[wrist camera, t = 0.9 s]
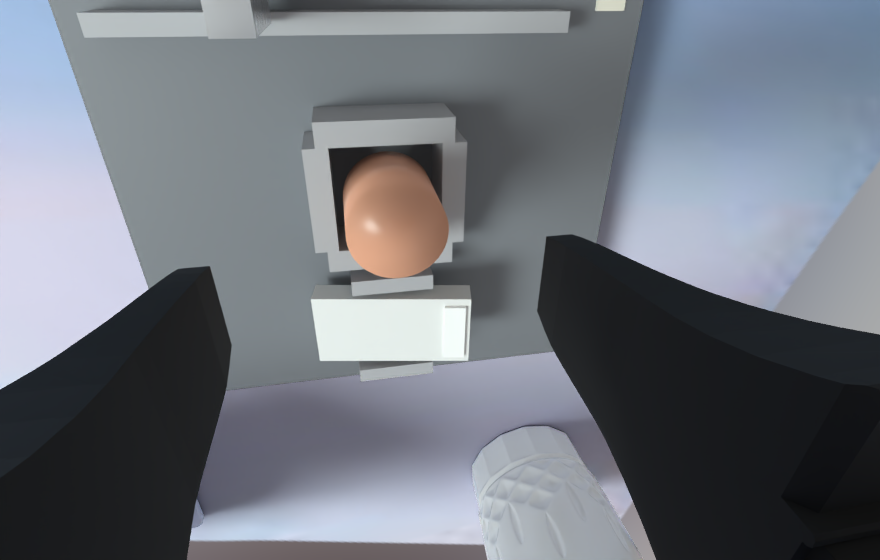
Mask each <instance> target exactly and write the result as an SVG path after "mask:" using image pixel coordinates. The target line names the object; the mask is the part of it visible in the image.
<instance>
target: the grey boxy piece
mask: <svg viewBox="0 0 880 560" xmlns="http://www.w3.org/2000/svg"><path fill="white" fill-rule="evenodd" d="M201 5H202V10H203V15H204V19H205V24H206V29H207V34H208V39H253V38H257V37H258V36H259V35H260V34H261V33H262V32H263V31H264V30H265V29H266V28H267V27H268V26H269V25H270V24H271V16H270V10H269V3H268V0H201Z"/></svg>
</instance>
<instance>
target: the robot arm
mask: <svg viewBox="0 0 880 560" xmlns="http://www.w3.org/2000/svg"><path fill="white" fill-rule="evenodd" d="M537 312H538V315H539V318H540V320H541V323H542V325H543V328H544V331H545V333H546V335H547V338H548V340H549V342H550V345H551V347H552V348H553V350H554V352H555V354H556V356H557V357H558V359H559V361H560V362H561V364H562V366H563V367H564V369H565V371H566V373H567V374H568V376H569V378H570V379H571V381H572V383H573V384H574V386H575V388H576V389H577V391H578V393H579V394H580V396H581V398H582V399H583V401H584V403H585V404H586V406H587V408H588V409H589V411H590V413H591V414H592V416H593V418H594V419H595V421H596V423H597V425H598V426H599V428H600V430H601V432H602V434H603V436H604V438H605V439H606V442H607V444H608V446H609V448H610V450H611V452H612V455H613V457H614V459H615V461H616V463H617V466H618V468H619V470H620V472H621V474H622V477H623V479H624V481H625V483H626V486H627V488H628V491H629V493H630V495H631V498H632V500H633V502H634V505H635V507H636V509H637V512H638V514H639V516H640V519H641V521H642V524H643V526H644V529H645V531H646V534H647V537H648V539H649V541H650V544H651V547H652V550H653V552H654V555H655V557H656V560H880V335H879V334H873V333H867V332H862V331H856V330H851V329H846V328H840V327H835V326H831V325H826V324H821V323H816V322H812V321H807V320H804V319H800V318H796V317H792V316H788V315H784V314H780V313H776V312H772V311H768V310H765V309H761V308H758V307H754V306H751V305H747V304H744V303H741V302H738V301H735V300H732V299H729V298H726V297H723V296H720V295H716V294H713V293H711V292H708V291H705V290H702V289H700V288H697V287H694V286H692V285H689V284H687V283H684V282H682V281H680V280H677V279H675V278H672V277H670V276H667V275H665V274H663V273H660V272H658V271H656V270H653V269H651V268H649V267H647V266H644V265H642V264H640V263H638V262H636V261H633V260H631V259H629V258H627V257H625V256H623V255H621V254H618V253H616V252H614V251H612V250H610V249H608V248H605V247H603V246H601V245H599V244H597V243H594V242H592V241H590V240H587V239H585V238H582V237H579V236H576V235H573V234H568V235H557V236H546V243H545V251H544V259H543V267H542V275H541V283H540V291H539V299H538V307H537ZM231 347H232V344H231V341H230V337H229V333H228V330H227V326H226V323H225V319H224V315H223V312H222V308H221V304H220V301H219V297H218V294H217V290H216V286H215V283H214V279H213V275H212V272H211V268H210V266H203V267H192V268H181V269H177V270H175V271H173V272H172V273H170V274H169V275H167V276H166V277H165V278H163V279H162V280H160V281H159V282H158V283H156V284H155V285H154V286H152V287H151V288H150V289H149V290H147V291H146V292H145V293H143V294H142V295H141V296H139V297H138V298H137V299H135V300H134V301H133V302H132V303H130V304H129V305H128V306H126V307H125V308H124V309H122V310H121V311H120V312H118V313H117V314H116V315H114V316H113V317H112V318H110V319H109V320H108V321H106V322H105V323H104V324H102V325H101V326H99V327H98V328H96V329H95V330H93V331H92V332H91V333H89V334H88V335H86V336H85V337H83V338H82V339H81V340H79V341H78V342H76V343H75V344H73V345H72V346H70V347H69V348H68V349H66V350H65V351H63V352H62V353H60V354H59V355H57V356H56V357H54V358H53V359H51V360H49V361H48V362H46V363H45V364H43V365H41V366H40V367H38V368H37V369H35V370H33V371H32V372H30V373H28V374H26V375H25V376H23V377H21V378H20V379H18V380H16V381H14V382H13V383H11V384H9V385H7V386H6V387H4V388H2V389H1V390H0V560H187V553H188V547H189V541H190V535H191V528H195V527H198V526H200V525H201V524H202V523H203V519H204V515H203V513H202V510H201V508H200V505H199V502H198V500H197V495H198V491H199V486H200V482H201V478H202V475H203V471H204V468H205V464H206V461H207V457H208V453H209V450H210V446H211V443H212V439H213V436H214V432H215V428H216V425H217V421H218V418H219V414H220V410H221V407H222V403H223V399H224V395H225V392H226V388H227V382H228V374H229V366H230V357H231Z"/></svg>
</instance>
